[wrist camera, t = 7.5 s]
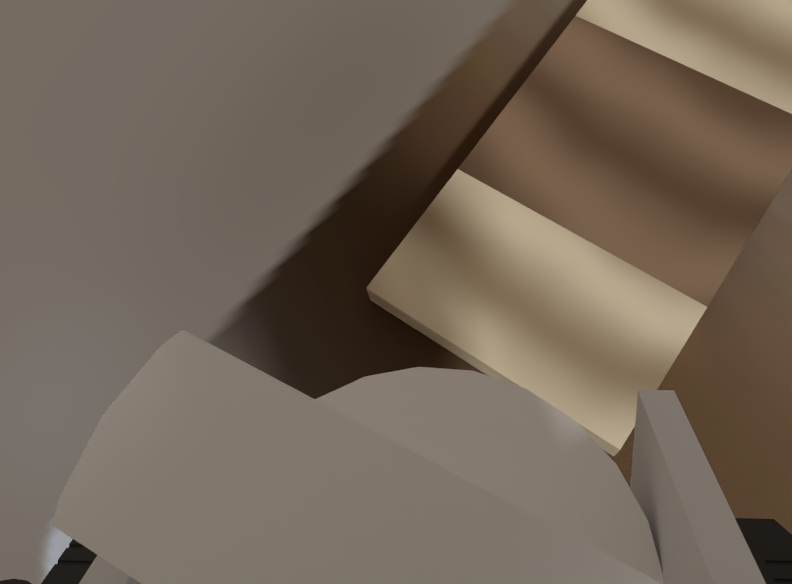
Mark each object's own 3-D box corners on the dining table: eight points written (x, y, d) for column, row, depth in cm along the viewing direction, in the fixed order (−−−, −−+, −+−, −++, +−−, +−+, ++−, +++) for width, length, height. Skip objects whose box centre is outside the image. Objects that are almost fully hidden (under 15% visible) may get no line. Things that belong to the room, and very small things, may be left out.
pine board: (640, -55, 43) (646, -77, 41) (869, 39, 39) (883, 18, 37) (370, 300, 36) (366, 288, 35) (613, 456, 32) (620, 449, 31)
